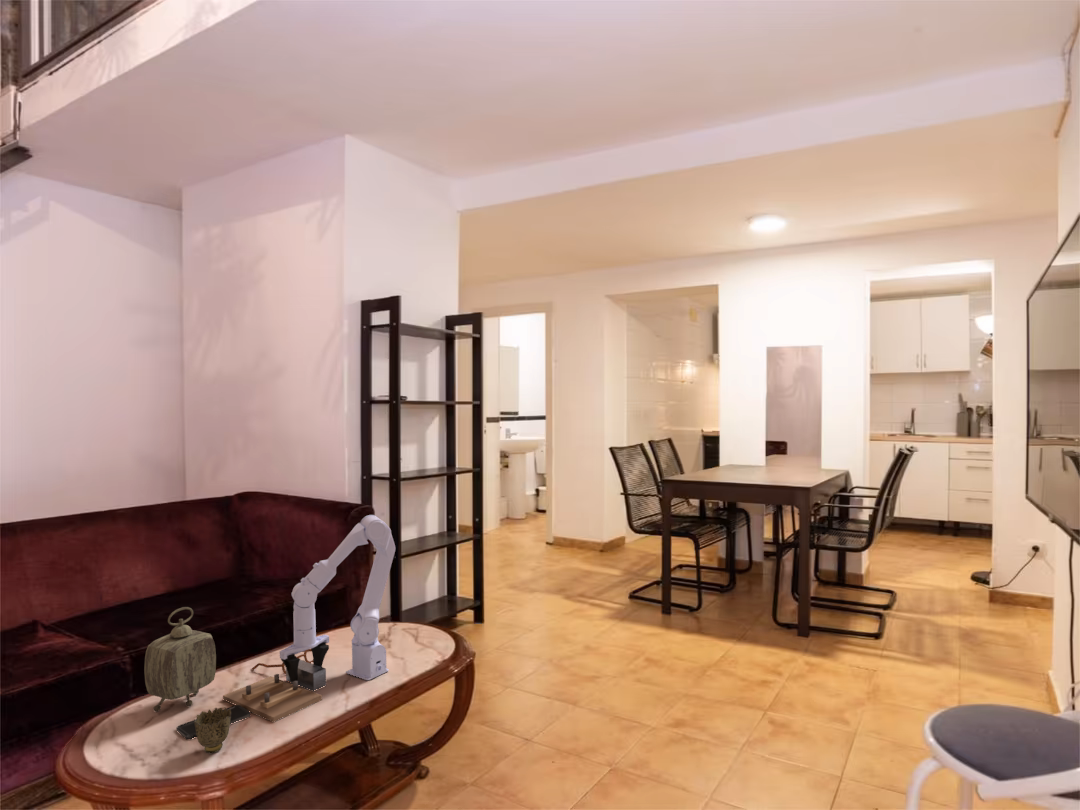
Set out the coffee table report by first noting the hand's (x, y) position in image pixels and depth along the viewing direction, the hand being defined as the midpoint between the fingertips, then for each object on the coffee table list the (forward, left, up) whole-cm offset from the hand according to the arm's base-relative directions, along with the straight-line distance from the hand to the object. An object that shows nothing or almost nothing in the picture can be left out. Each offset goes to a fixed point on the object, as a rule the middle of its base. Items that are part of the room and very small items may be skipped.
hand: (305, 676), depth 183 cm
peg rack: (-1, +11, -2) cm, 11 cm away
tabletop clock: (+16, +25, -2) cm, 30 cm away
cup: (-12, +33, -2) cm, 35 cm away
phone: (0, +26, -2) cm, 26 cm away
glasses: (+17, -5, -3) cm, 18 cm away
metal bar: (0, 0, -2) cm, 2 cm away
